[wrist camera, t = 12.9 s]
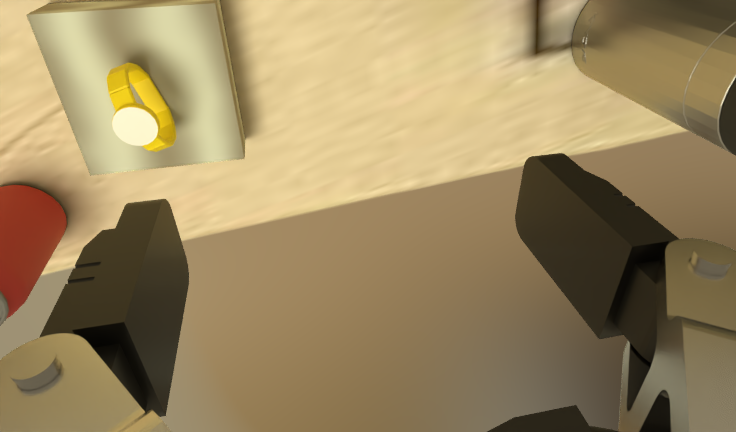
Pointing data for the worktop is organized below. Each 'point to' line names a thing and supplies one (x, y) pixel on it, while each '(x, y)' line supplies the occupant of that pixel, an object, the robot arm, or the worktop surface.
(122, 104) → the watch
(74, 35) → the block
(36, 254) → the beer can
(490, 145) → the worktop surface
